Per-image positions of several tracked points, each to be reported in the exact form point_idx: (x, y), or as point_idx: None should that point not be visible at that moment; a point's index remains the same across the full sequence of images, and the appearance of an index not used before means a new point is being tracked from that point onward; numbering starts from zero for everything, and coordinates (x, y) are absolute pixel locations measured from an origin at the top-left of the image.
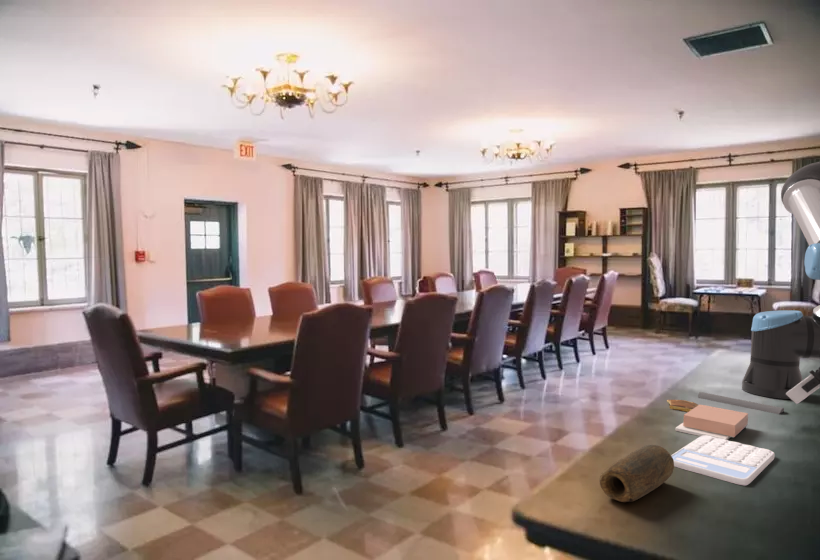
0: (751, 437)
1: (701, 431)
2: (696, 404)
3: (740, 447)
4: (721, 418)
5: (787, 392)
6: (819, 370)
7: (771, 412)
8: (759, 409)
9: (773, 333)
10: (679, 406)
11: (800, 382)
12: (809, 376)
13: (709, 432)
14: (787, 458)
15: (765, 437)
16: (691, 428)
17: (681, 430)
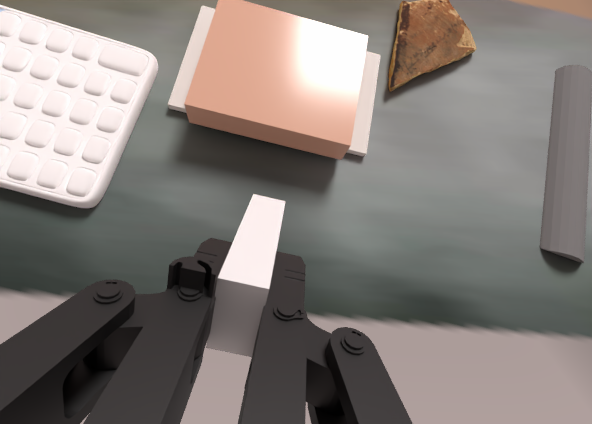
0: (251, 168)
1: None
2: (450, 54)
3: (80, 127)
4: (242, 76)
5: (252, 198)
6: (111, 315)
7: (542, 230)
8: (547, 202)
9: None
10: (403, 18)
11: (254, 234)
12: (223, 267)
13: None
14: (98, 238)
15: None
16: None
17: (197, 19)
